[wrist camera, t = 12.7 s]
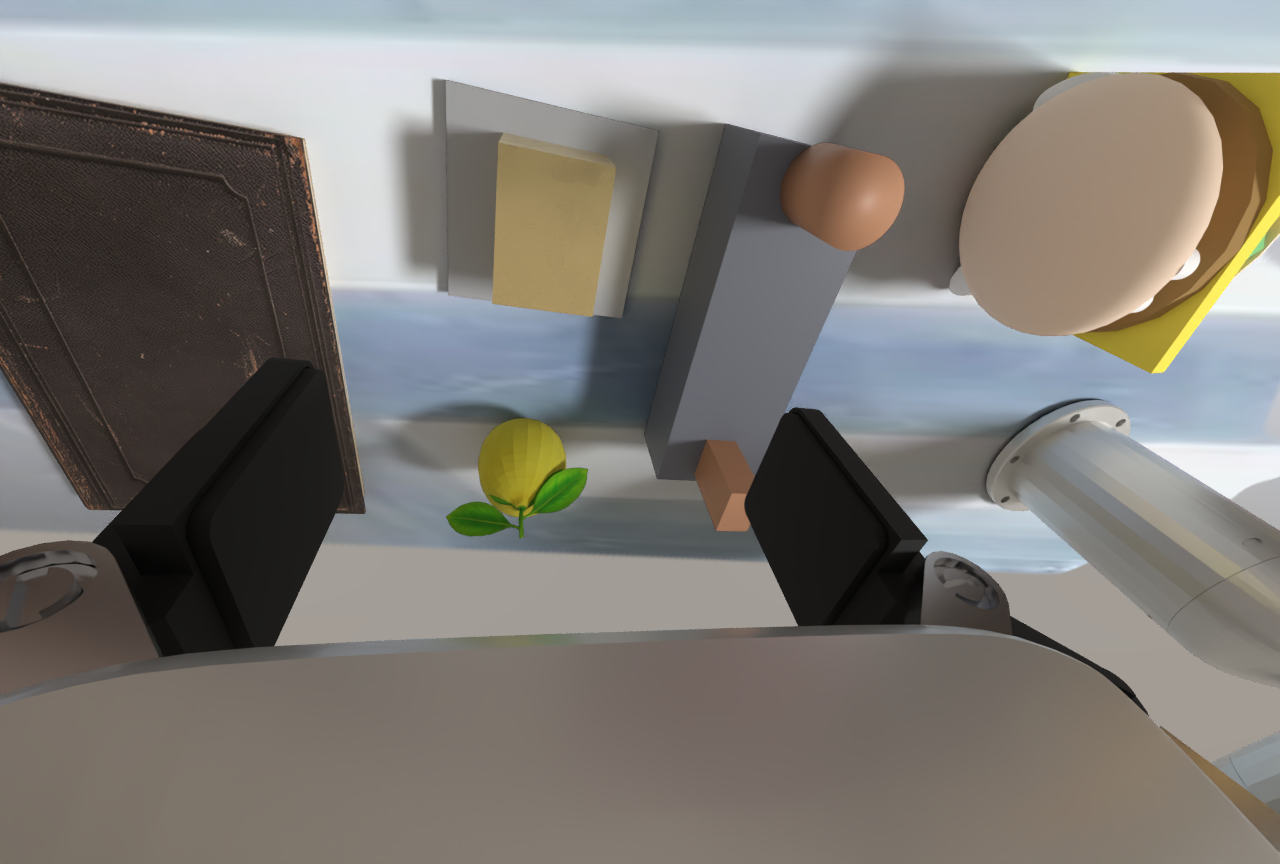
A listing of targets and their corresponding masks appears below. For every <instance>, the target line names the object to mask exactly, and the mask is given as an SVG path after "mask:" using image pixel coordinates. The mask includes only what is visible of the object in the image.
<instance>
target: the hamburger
mask: <svg viewBox="0 0 1280 864" xmlns="http://www.w3.org/2000/svg"><path fill="white" fill-rule="evenodd" d="M1279 235H1280V73H1138V72H1136V73H1130V72H1070V73H1069V75H1068V77H1067V79H1066V80H1063V81H1061V82H1059V83H1057V84H1055V85H1054V86H1052V87H1050V88H1049V89H1047V90H1046V91H1045V92H1043V93H1042V94H1041V95H1040V96H1039V98H1038V99H1037V100H1036V102H1035V105H1034V107H1033V112H1031V113H1030V114H1029V115H1028V116H1027V117H1026V118H1024V119H1023V120H1022V121H1021V122H1020V123H1019V124H1017V125H1016V126H1015V127H1014V128H1013V129H1012V130H1011V132H1010V133H1009V134H1008V135H1007V136H1006V137H1005V138H1004V139H1003V140H1002V141H1001V142H1000V143H999V145H998V146H997V148H996V149H995V150H994V152H993V153H992V154H991V156H990V157H989V158H988V160H987V161H986V163H985V164H984V166H983V168H982V170H981V171H980V173H979V175H978V177H977V178H976V180H975V182H974V185H973V187H972V189H971V192H970V194H969V196H968V199H967V202H966V206H965V209H964V212H963V216H962V222H961V227H960V237H959V253H960V263H961V266H960V267H959V268H958V270H957V271H956V272H955V274H954V275H953V276H952V278H951V280H950V286H949V287H950V290H951V292H952V293H953V294H956V295H962V296H963V295H973V297H974V298H975V300H976V301H977V303H978V304H979V305H980V306H981V307H982V308H983V309H984V310H985V311H986V312H987V313H988V314H989V315H990V316H991V317H993V318H994V319H996V320H997V321H999V322H1000V323H1002V324H1003V325H1005V326H1007V327H1010V328H1012V329H1015V330H1017V331H1020V332H1023V333H1028V334H1034V335H1039V336H1067V335H1074V336H1076V337H1078V338H1080V339H1082V340H1084V341H1086V342H1088V343H1091V344H1093V345H1095V346H1097V347H1099V348H1101V349H1103V350H1105V351H1107V352H1109V353H1111V354H1113V355H1115V356H1117V357H1119V358H1121V359H1123V360H1125V361H1127V362H1129V363H1131V364H1133V365H1135V366H1137V367H1139V368H1141V369H1143V370H1145V371H1147V372H1149V373H1161V372H1164V371H1165V370H1166V369H1167V367H1168V366H1169V365H1170V363H1171V362H1172V360H1173V359H1174V358H1175V356H1176V355H1177V354H1178V352H1179V351H1180V350H1181V348H1182V347H1183V346H1184V344H1185V343H1186V341H1187V340H1188V339H1189V337H1190V336H1191V335H1192V333H1193V332H1194V331H1195V329H1196V328H1197V327H1198V325H1199V324H1200V322H1201V321H1202V320H1203V318H1204V317H1205V316H1206V314H1207V313H1208V312H1209V310H1210V309H1211V308H1212V306H1213V305H1214V303H1215V302H1216V301H1217V299H1218V298H1219V297H1220V295H1221V294H1222V293H1223V291H1224V290H1225V289H1226V287H1227V286H1228V284H1229V283H1230V282H1231V280H1232V279H1233V278H1234V277H1236V276H1237V275H1238V274H1239V273H1241V272H1242V271H1243V270H1244V269H1245V268H1247V267H1248V266H1249V265H1250V264H1251V263H1252V262H1254V261H1255V260H1256V259H1257V258H1258V257H1260V256H1261V255H1262V254H1263V253H1264V252H1265V251H1266V249H1267V248H1268V247H1269V246H1270V245H1271V244H1272V243H1273V242H1274V241H1275V240H1276V239H1277V237H1278V236H1279Z"/></svg>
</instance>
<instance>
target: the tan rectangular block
mask: <svg viewBox="0 0 1280 864" xmlns="http://www.w3.org/2000/svg"><path fill="white" fill-rule="evenodd" d="M615 173H616V166H615V165H614V164H613V163H612V161H611V160H610V159H609V158H608V157H607V155H604V154H599V153H595V152H590V151H585V150H581V149H576V148H572V147H567V146H563V145H558V144H553V143H549V142H544V141H540V140H535V139H530V138H526V137H521V136H517V135H512V134H508V133H503V135H502V136H501V138H500V140H499V142H498V163H497V190H496V216H495V243H494V269H493V296H492V304H498V305H506V306H514V307H521V308H529V309H536V310H544V311H552V312H559V313H567V314H575V315H582V316H590V317H593V311H594V304H595V298H596V292H597V286H598V279H599V273H600V267H601V261H602V255H603V248H604V242H605V236H606V230H607V223H608V217H609V211H610V205H611V198H612V192H613V186H614V180H615Z"/></svg>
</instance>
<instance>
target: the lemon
mask: <svg viewBox="0 0 1280 864" xmlns="http://www.w3.org/2000/svg"><path fill="white" fill-rule="evenodd" d="M478 471H479V477H480V483H481V487H482V489H483V492H484V493H485V495H486V497H487V498H488V500H489V501H490V503H491V504H492V505H493V506H492V505H490V504H487V503H483V502H471V503H467V504H464V505H461V506H459V507H458V508H456V509H455V510H454V511H453V512H451V513H450V514H449V515H447V516H446V518H447V520H448V522H449V524H450V525H451V527H452V528H453V529H454V530H455V531H456V532H458V533H460V534H463V535H466V536H484V535H490V534H493V533H496V532H499V531H501V530H504V529H506V528H509V527H512V528H517V529H519V538H523V537H524V530H523V520H524V519H525V518H526V517H530V516H533V515H536V514H539V513H552V512H557V511H560V510H562V509H564V508H566V507H568V506H569V505H570V504H571V503H573V502H574V501H575V500H576V499H577V498H578V497H579V495H580V494H581V492H582V490H583V489H584V487H585V484H586V480H587V471H588V469H584V468H570V469H566V454H565V450H564V448H563V445H562V442H561V440H560V438H559V436H558V435H557V434H556V433H555V432H554V431H553V429H552V428H551V427H549V426H548V425H546V424H544V423H542V422H541V421H538V420H533V419H529V418H518V419H513V420H509V421H506V422H503V423H502V424H500V425H498V426H497V427H495V428H494V429H493V430H492V431H491V432H490V434H489V435H488V436H487V438H486V439H485V441H484V442H483V444H482V448H481V451H480V455H479V459H478ZM495 507H496V508H497V509H498V510H497V509H496V508H495ZM500 511H501V512H503V513H505V514H508V515H510V516H514V517H519V526H515V525H512V524H510V523H509V522H508V520H507V519H506V518H505V517H504V515H503V514H502V513H501V512H500Z"/></svg>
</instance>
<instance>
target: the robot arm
mask: <svg viewBox="0 0 1280 864" xmlns="http://www.w3.org/2000/svg"><path fill="white" fill-rule="evenodd" d="M1129 432H1130V419H1129V417H1128V415H1127V413H1126V412H1125V411H1124V410H1122V409H1121V408H1119V407H1117V406H1116V405H1114V404H1112V403H1110V402H1107V401H1101V400H1089V401H1082V402H1078V403H1074V404H1070V405H1067V406H1065V407H1062V408H1059V409H1057V410H1055V411H1053V412H1051V413H1049V414H1047V415H1045V416H1043V417H1041V418H1040V419H1038V420H1037V421H1035V422H1033V423H1032V424H1030V425H1029V426H1028V427H1026V428H1025V429H1024V430H1023V431H1021V432H1020V433H1019V434H1017V435H1016V436H1015V437H1014V438H1013V439H1012V440H1011V441H1010V442H1009V443H1008V444H1007V445H1006V446H1005V447H1004V449H1003V450H1002V451H1001V452H1000V453H999V455H998V456H997V458H996V459H995V461H994V462H993V464H992V466H991V468H990V470H989V473H988V476H987V481H986V489H987V493H988V495H989V497H990V498H991V499H992V500H993V501H994V502H995V503H996V504H997V505H999V506H1000V507H1002V508H1004V509H1007V510H1011V511H1027V510H1030V511H1031V512H1032V513H1033V514H1035V515H1036V516H1037V517H1038V518H1039V519H1040V520H1041V521H1042V522H1043V523H1045V524H1046V525H1047V526H1048V527H1049V528H1050V529H1051V530H1052V531H1054V532H1055V533H1056V534H1057V535H1058V536H1059V537H1060V538H1061V539H1063V540H1064V541H1065V542H1066V543H1067V544H1068V545H1069V546H1070V547H1072V548H1073V549H1074V550H1075V551H1076V552H1077V553H1078V554H1079V555H1081V556H1082V557H1083V558H1084V559H1085V560H1086V561H1087V562H1088V563H1090V564H1091V565H1092V566H1093V567H1094V568H1095V569H1096V570H1097V571H1099V572H1100V573H1101V574H1102V575H1103V576H1104V577H1105V578H1106V579H1108V580H1109V581H1110V582H1111V583H1112V584H1113V585H1114V586H1115V587H1116V588H1118V589H1119V590H1120V591H1121V592H1122V593H1123V594H1124V595H1125V596H1126V597H1128V598H1129V599H1130V600H1131V601H1132V602H1133V603H1134V604H1136V605H1137V606H1138V607H1139V608H1140V609H1141V610H1142V611H1143V612H1144V613H1146V614H1147V615H1148V616H1149V617H1150V618H1151V619H1153V620H1154V621H1155V622H1156V623H1157V624H1158V625H1159V626H1160V627H1161V628H1162V629H1164V630H1165V631H1166V632H1167V633H1168V634H1169V635H1170V636H1172V637H1173V638H1174V639H1175V640H1176V641H1177V642H1178V643H1179V644H1181V645H1182V646H1183V647H1184V648H1185V649H1186V650H1188V651H1189V652H1190V653H1192V654H1193V655H1194V656H1196V657H1197V658H1199V659H1200V660H1202V661H1203V662H1205V663H1207V664H1209V665H1211V666H1213V667H1214V668H1216V669H1218V670H1221V671H1223V672H1226V673H1228V674H1231V675H1233V676H1237V677H1240V678H1243V679H1246V680H1250V681H1253V682H1257V683H1260V684H1265V685H1269V686H1273V687H1277V688H1280V530H1278V529H1276V528H1275V527H1273V526H1272V525H1270V524H1268V523H1267V522H1265V521H1263V520H1262V519H1260V518H1258V517H1257V516H1255V515H1254V514H1252V513H1250V512H1249V511H1247V510H1246V509H1244V508H1242V507H1241V506H1239V505H1238V504H1236V503H1234V502H1233V501H1231V500H1230V499H1228V498H1226V497H1225V496H1223V495H1221V494H1220V493H1218V492H1217V491H1215V490H1213V489H1212V488H1210V487H1209V486H1207V485H1205V484H1204V483H1202V482H1200V481H1199V480H1197V479H1196V478H1194V477H1192V476H1191V475H1189V474H1188V473H1186V472H1184V471H1183V470H1181V469H1179V468H1178V467H1176V466H1175V465H1173V464H1171V463H1170V462H1168V461H1167V460H1165V459H1163V458H1162V457H1160V456H1158V455H1157V454H1155V453H1154V452H1152V451H1150V450H1149V449H1147V448H1146V447H1144V446H1142V445H1141V444H1139V443H1137V442H1136V441H1134V440H1133V439H1131V438H1129V437H1128V436H1129ZM343 492H344V478H343V472H342V467H341V461H340V455H339V449H338V444H337V438H336V432H335V426H334V421H333V415H332V409H331V403H330V398H329V392H328V386H327V380H326V376H325V373H324V371H323V370H320V369H314V366H313V364H312V363H311V362H310V361H309V360H298V359H288V358H278V357H271V358H269V359H268V360H267V361H266V362H265V363H264V364H263V365H262V366H261V367H260V368H259V369H258V370H257V371H256V372H255V373H254V374H253V375H252V377H251V378H250V379H249V380H248V381H247V382H246V383H245V384H244V385H243V386H242V387H241V388H240V389H239V390H238V391H237V392H236V393H235V395H234V396H233V397H232V398H231V399H230V400H229V401H228V402H227V403H226V404H225V405H224V406H223V407H222V408H221V409H220V410H219V412H218V413H217V414H216V415H215V416H214V417H213V418H212V419H211V420H210V421H209V422H208V423H207V424H206V425H205V426H204V427H203V428H202V429H200V430H199V431H198V432H196V433H195V434H194V435H193V436H192V437H191V438H190V439H189V440H188V442H187V443H186V444H185V445H184V446H183V447H182V448H181V449H180V450H179V451H178V452H177V453H176V454H175V455H174V456H173V457H172V458H171V459H170V460H169V462H168V463H167V464H166V465H165V466H164V467H163V468H162V469H161V470H160V471H159V472H158V473H157V474H156V475H155V476H154V477H153V478H152V479H151V480H150V482H149V483H148V484H147V485H146V486H145V487H144V488H143V489H142V490H141V491H140V492H139V493H138V494H137V495H136V496H135V497H134V498H133V499H132V500H131V502H130V503H129V504H128V505H127V506H126V507H125V508H124V509H123V510H122V511H121V512H120V513H119V514H118V515H117V516H116V517H115V518H114V519H113V520H112V522H111V523H110V524H109V525H108V526H107V527H106V528H105V529H104V530H103V531H102V532H101V533H100V534H99V535H98V536H97V537H96V538H95V539H94V541H93V542H92V543H91V542H84V541H59V542H51V543H42V544H38V545H34V546H31V547H26V548H22V549H19V550H15V551H12V552H9V553H7V554H4V555H1V556H0V864H1280V731H1278V732H1276V733H1274V734H1272V735H1269V736H1267V737H1265V738H1262V739H1261V740H1258V741H1256V742H1253V743H1251V744H1249V745H1247V746H1244V747H1242V748H1240V749H1237V750H1235V751H1233V752H1232V753H1230V754H1227V755H1225V756H1223V757H1221V758H1219V759H1217V760H1215V761H1213V762H1211V763H1210V762H1208V761H1207V760H1206V759H1204V758H1203V757H1202V756H1200V755H1199V754H1198V753H1196V752H1195V751H1194V750H1192V749H1191V748H1190V747H1188V746H1187V745H1185V744H1184V743H1183V742H1182V741H1180V740H1179V739H1177V738H1176V737H1175V736H1174V735H1172V734H1171V733H1170V732H1168V731H1167V730H1166V729H1164V728H1163V727H1161V726H1158V725H1157V724H1156V723H1155V722H1154V721H1153V720H1152V719H1151V718H1150V717H1149V715H1148V713H1147V711H1146V710H1145V708H1144V707H1143V705H1142V704H1141V703H1140V701H1139V700H1138V698H1137V697H1136V695H1135V694H1134V692H1133V691H1132V690H1131V688H1130V687H1129V686H1128V685H1127V684H1126V683H1125V682H1124V681H1123V680H1121V679H1120V678H1119V677H1118V676H1116V675H1115V674H1113V673H1111V672H1110V671H1108V670H1106V669H1104V668H1101V667H1100V666H1098V665H1097V664H1095V663H1093V662H1092V661H1090V660H1088V659H1086V658H1084V657H1083V656H1081V655H1079V654H1077V653H1075V652H1074V651H1072V650H1070V649H1068V648H1067V647H1065V646H1063V645H1061V644H1059V643H1058V642H1056V641H1054V640H1052V639H1050V638H1048V637H1047V636H1045V635H1043V634H1042V633H1040V632H1038V631H1036V630H1034V629H1033V628H1031V627H1029V626H1027V625H1026V624H1024V623H1022V622H1020V621H1018V620H1017V619H1015V618H1013V617H1011V616H1010V610H1009V603H1008V600H1007V597H1006V595H1005V593H1004V591H1003V590H1002V588H1001V587H1000V585H999V584H998V583H997V582H996V581H995V580H994V579H993V578H992V577H991V576H990V575H989V574H988V573H987V572H985V571H984V570H983V569H981V568H980V567H979V566H978V565H976V564H974V563H972V562H971V561H969V560H967V559H965V558H963V557H961V556H958V555H956V554H953V553H948V552H943V551H939V552H932V553H931V554H929V555H927V557H926V558H924V557H923V556H922V554H921V553H920V552H919V551H920V550H921V549H922V547H923V546H924V545H925V543H926V542H927V541H928V540H927V538H926V537H925V536H924V535H923V533H922V532H921V531H920V530H919V529H918V527H917V526H916V525H915V524H914V523H913V521H912V520H911V519H910V518H909V517H908V515H907V514H906V513H905V512H904V511H903V509H902V508H901V507H900V506H899V505H898V503H897V502H896V501H895V500H894V499H893V497H892V496H891V495H890V494H889V493H888V491H887V490H886V489H885V488H884V487H883V485H882V484H881V483H880V482H879V481H878V479H877V478H876V477H875V476H874V475H873V473H872V472H871V471H870V470H869V469H868V467H867V466H866V465H865V464H864V463H863V461H862V460H861V459H860V458H859V457H858V455H857V454H856V453H855V452H854V450H853V449H852V448H851V447H850V446H849V444H848V443H847V442H846V441H845V440H844V438H843V437H842V436H841V435H840V434H839V432H838V431H837V430H836V429H835V428H834V426H833V425H832V424H831V423H830V422H829V420H828V419H827V418H826V417H825V416H824V414H823V413H822V412H821V411H819V410H816V409H806V408H796V407H795V408H793V409H791V410H790V411H789V413H785V414H784V415H783V416H782V417H781V419H780V421H779V424H778V426H777V428H776V430H775V433H774V435H773V437H772V439H771V442H770V444H769V446H768V448H767V450H766V453H765V455H764V457H763V459H762V462H761V464H760V466H759V468H758V471H757V473H756V475H755V477H754V480H753V482H752V484H751V486H750V489H749V491H748V493H747V495H746V498H745V502H744V509H745V513H746V515H747V518H748V520H749V522H750V524H751V526H752V528H753V530H754V533H755V535H756V537H757V539H758V541H759V543H760V545H761V547H762V550H763V552H764V554H765V556H766V558H767V560H768V562H769V565H770V567H771V569H772V571H773V573H774V575H775V577H776V579H777V582H778V583H779V586H780V588H781V590H782V592H783V594H784V597H785V599H786V601H787V603H788V605H789V607H790V609H791V612H792V613H793V616H794V618H795V620H796V622H797V624H798V626H795V627H757V628H721V629H690V630H658V631H629V632H599V633H569V634H543V635H542V634H541V635H518V636H517V635H515V636H489V637H462V638H438V639H437V638H436V639H410V640H385V641H365V642H347V643H328V644H308V645H291V646H274V645H275V643H276V641H277V639H278V637H279V635H280V632H281V630H282V628H283V626H284V624H285V622H286V619H287V617H288V615H289V613H290V611H291V608H292V606H293V604H294V602H295V600H296V598H297V595H298V593H299V591H300V589H301V587H302V585H303V582H304V580H305V578H306V576H307V574H308V571H309V569H310V567H311V565H312V563H313V561H314V559H315V556H316V554H317V552H318V550H319V548H320V546H321V543H322V541H323V539H324V537H325V535H326V533H327V530H328V528H329V526H330V524H331V522H332V520H333V517H334V515H335V513H336V511H337V509H338V506H339V504H340V502H341V500H342V497H343Z"/></svg>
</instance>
